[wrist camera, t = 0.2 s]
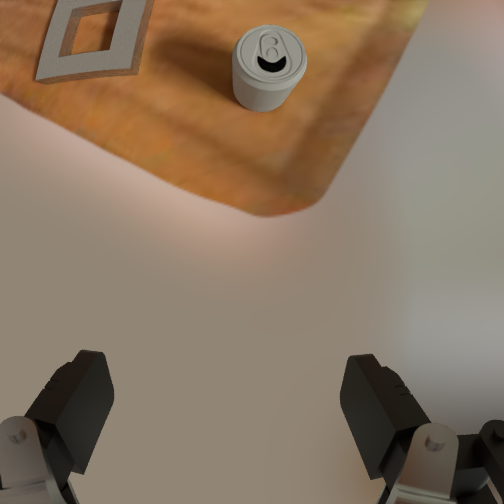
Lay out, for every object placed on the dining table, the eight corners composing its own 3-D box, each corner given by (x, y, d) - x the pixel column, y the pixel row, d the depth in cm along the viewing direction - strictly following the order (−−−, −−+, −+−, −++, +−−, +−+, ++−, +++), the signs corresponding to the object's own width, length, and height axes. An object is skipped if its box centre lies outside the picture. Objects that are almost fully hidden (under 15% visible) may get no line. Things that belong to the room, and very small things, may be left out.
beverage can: (233, 114, 33) (233, 88, 22) (232, 64, 32) (231, 21, 20) (288, 113, 34) (313, 88, 22) (285, 64, 32) (307, 22, 20)
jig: (73, -9, 26) (65, -18, 23) (161, -23, 27) (156, -34, 24) (46, 84, 30) (35, 80, 27) (137, 75, 31) (130, 68, 28)
